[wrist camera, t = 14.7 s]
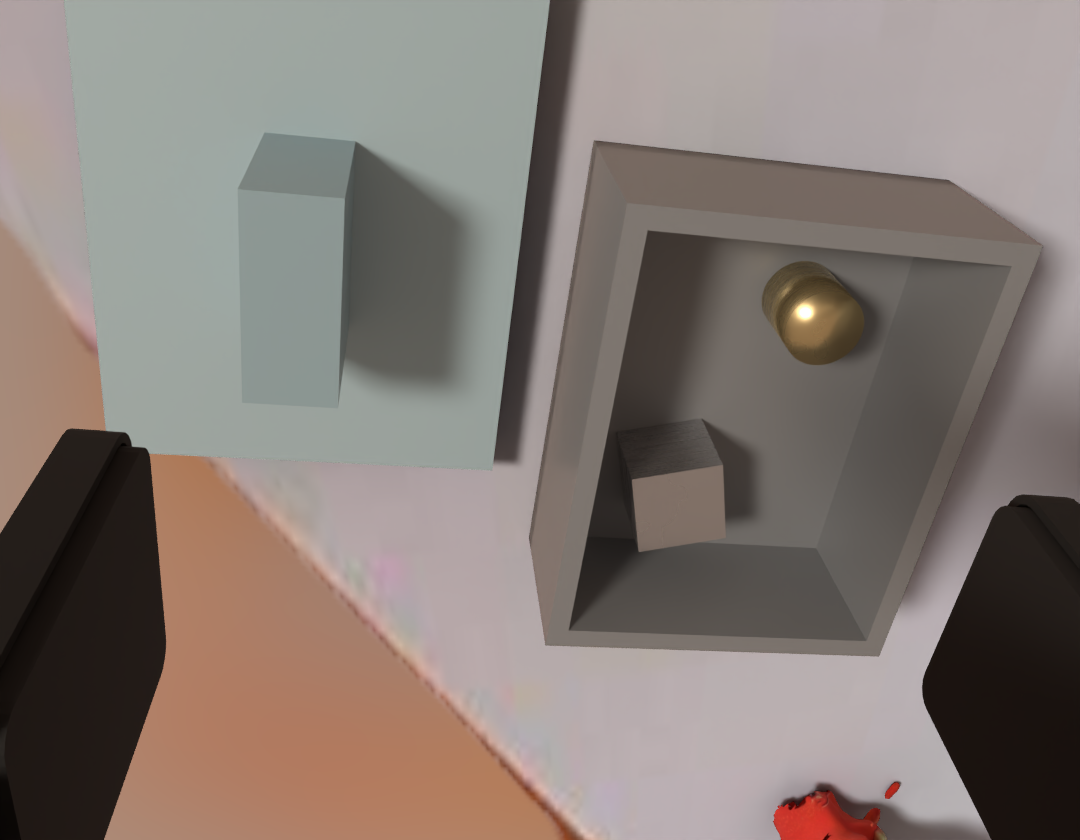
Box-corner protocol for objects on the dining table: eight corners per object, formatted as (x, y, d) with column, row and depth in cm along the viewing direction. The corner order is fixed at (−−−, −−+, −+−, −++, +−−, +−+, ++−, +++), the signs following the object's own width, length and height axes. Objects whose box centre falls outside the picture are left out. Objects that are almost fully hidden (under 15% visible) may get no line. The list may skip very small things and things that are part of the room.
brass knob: (845, 264, 40) (874, 295, 38) (824, 333, 42) (850, 368, 39) (772, 257, 40) (796, 288, 37) (753, 327, 41) (775, 362, 39)
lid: (545, -37, 35) (578, 2, 28) (489, 442, 44) (502, 562, 37) (75, -96, 32) (-19, -70, 25) (121, 422, 42) (62, 546, 35)
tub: (948, 180, 40) (1043, 245, 34) (821, 552, 48) (878, 656, 42) (593, 140, 37) (627, 202, 31) (529, 537, 46) (545, 645, 40)
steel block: (701, 418, 43) (722, 465, 40) (704, 487, 45) (725, 537, 42) (616, 431, 43) (631, 479, 40) (623, 501, 45) (638, 552, 42)
